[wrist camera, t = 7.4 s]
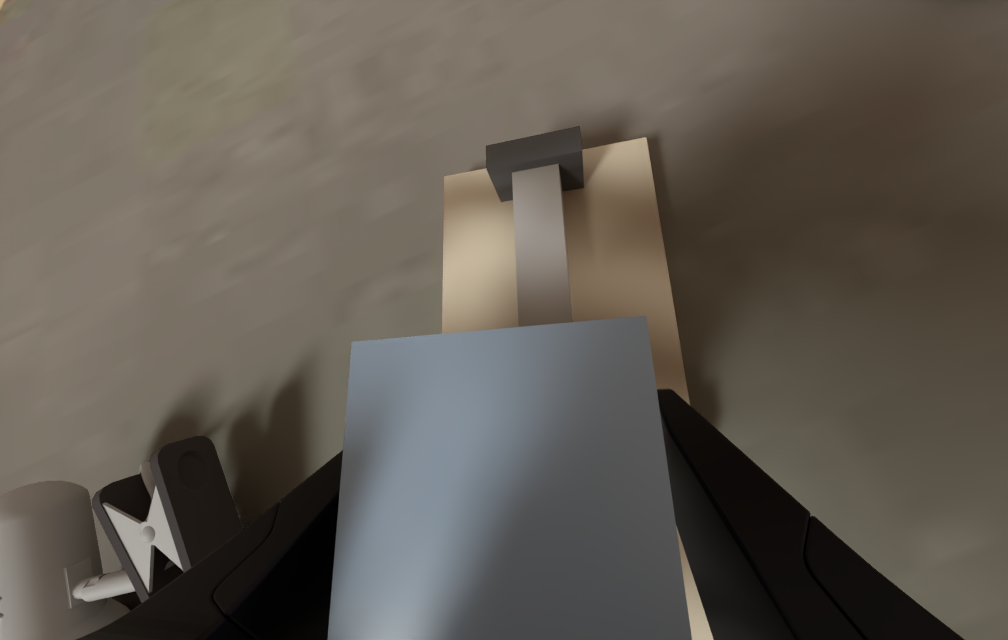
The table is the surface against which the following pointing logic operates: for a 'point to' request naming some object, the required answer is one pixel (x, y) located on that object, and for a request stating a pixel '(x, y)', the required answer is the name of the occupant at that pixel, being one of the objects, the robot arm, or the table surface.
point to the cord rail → (596, 266)
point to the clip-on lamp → (129, 527)
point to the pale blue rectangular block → (507, 489)
